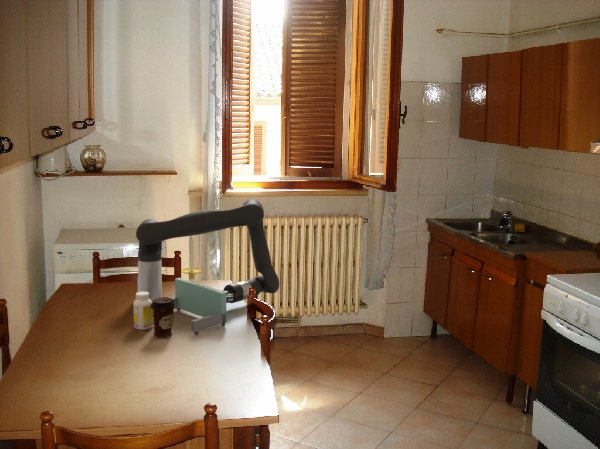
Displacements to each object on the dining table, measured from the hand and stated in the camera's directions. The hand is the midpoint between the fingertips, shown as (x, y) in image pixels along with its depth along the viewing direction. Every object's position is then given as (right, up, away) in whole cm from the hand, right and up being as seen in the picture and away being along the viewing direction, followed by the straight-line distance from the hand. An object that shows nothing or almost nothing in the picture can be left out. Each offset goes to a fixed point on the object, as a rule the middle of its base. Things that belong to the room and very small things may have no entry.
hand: (204, 300), depth 259 cm
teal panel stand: (-6, -7, -5) cm, 11 cm away
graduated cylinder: (-10, 0, +32) cm, 34 cm away
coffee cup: (-12, -10, -19) cm, 25 cm away
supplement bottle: (-21, -9, -11) cm, 25 cm away
